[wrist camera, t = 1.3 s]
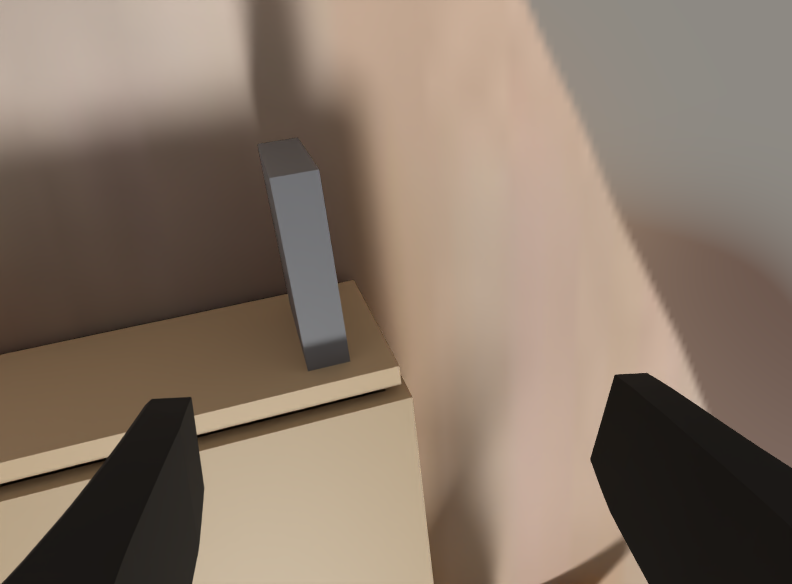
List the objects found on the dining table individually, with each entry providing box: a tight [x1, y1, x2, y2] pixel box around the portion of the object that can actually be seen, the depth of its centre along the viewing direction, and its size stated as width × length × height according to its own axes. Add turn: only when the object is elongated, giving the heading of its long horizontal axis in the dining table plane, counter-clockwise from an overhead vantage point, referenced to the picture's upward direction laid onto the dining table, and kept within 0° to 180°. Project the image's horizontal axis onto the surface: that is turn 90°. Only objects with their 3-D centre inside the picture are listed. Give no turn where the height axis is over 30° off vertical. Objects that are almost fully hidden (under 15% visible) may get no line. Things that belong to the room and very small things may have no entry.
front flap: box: [0, 138, 401, 484], centre depth 17 cm, size 16×6×6 cm, turn 96°
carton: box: [0, 374, 434, 584], centre depth 21 cm, size 16×10×7 cm, turn 96°
